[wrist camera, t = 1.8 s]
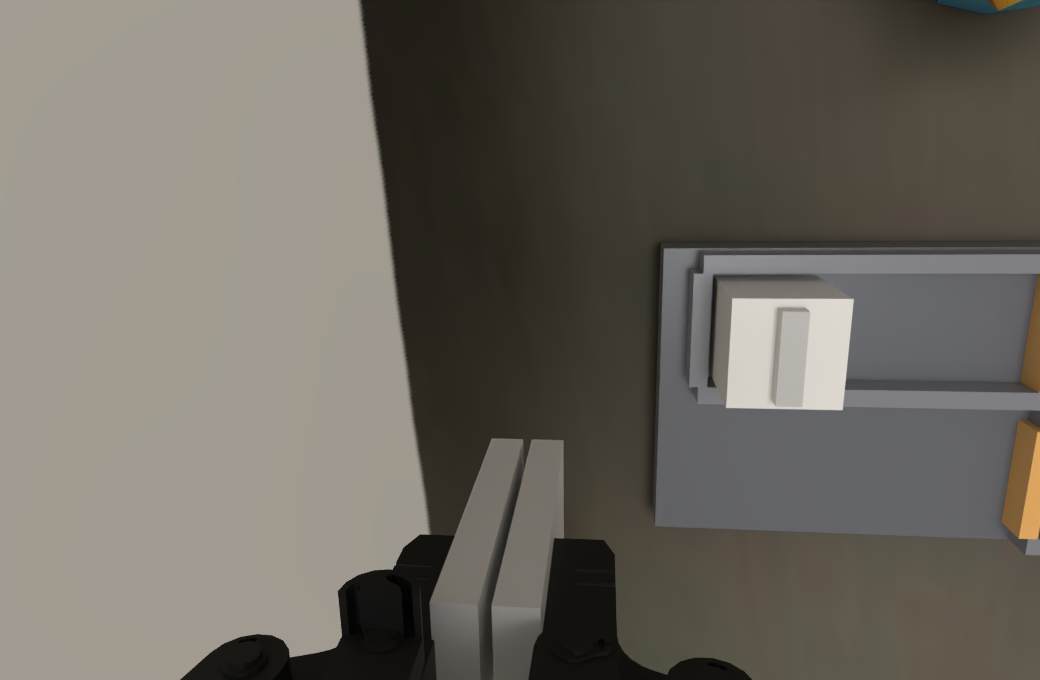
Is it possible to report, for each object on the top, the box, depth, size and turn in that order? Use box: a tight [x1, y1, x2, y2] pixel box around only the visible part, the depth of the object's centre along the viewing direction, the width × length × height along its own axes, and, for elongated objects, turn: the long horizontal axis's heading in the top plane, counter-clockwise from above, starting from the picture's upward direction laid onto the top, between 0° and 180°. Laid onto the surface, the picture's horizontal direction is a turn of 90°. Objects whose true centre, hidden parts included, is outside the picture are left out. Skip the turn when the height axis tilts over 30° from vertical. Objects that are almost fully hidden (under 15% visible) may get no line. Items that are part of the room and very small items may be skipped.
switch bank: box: [653, 241, 1040, 555], centre depth 33 cm, size 14×33×4 cm, turn 91°
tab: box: [709, 276, 854, 410], centre depth 30 cm, size 4×4×6 cm
